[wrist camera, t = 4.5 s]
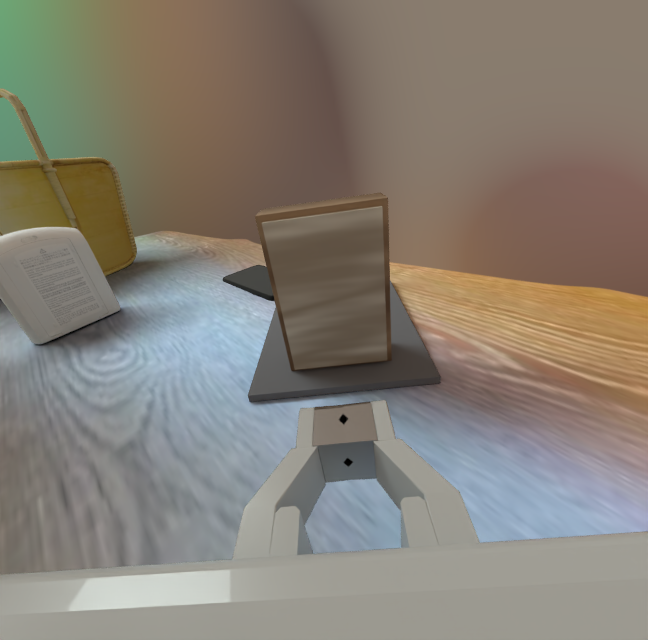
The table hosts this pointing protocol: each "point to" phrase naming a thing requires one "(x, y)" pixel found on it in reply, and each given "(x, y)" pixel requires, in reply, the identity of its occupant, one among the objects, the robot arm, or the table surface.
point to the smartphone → (252, 281)
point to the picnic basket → (67, 198)
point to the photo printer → (52, 282)
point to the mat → (402, 371)
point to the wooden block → (330, 279)
